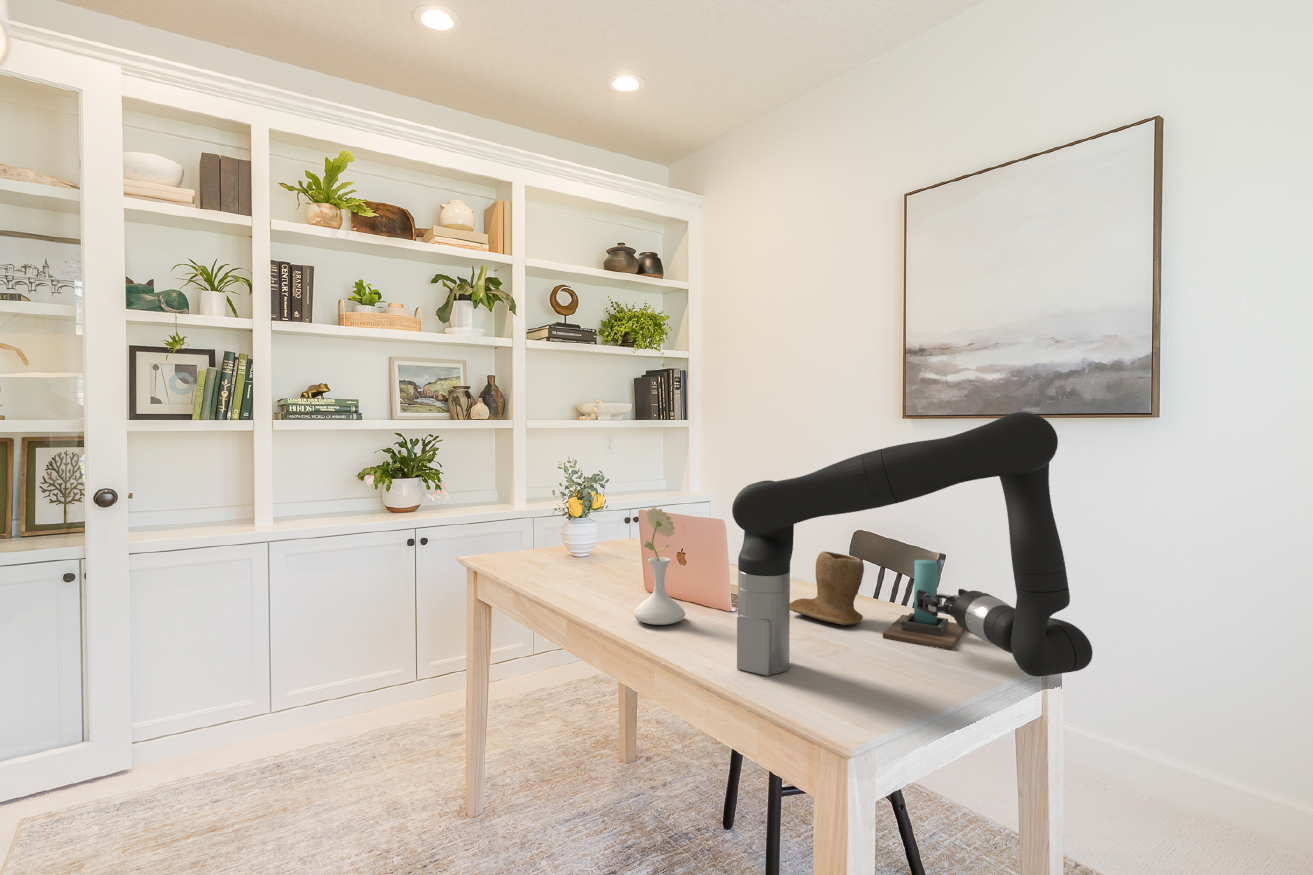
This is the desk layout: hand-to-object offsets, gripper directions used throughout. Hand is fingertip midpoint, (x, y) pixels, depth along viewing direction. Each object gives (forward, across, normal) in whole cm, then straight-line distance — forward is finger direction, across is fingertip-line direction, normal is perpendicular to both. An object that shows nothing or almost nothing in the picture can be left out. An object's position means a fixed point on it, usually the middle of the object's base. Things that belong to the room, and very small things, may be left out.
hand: (939, 594), depth 133 cm
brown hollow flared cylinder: (+18, +16, +10) cm, 26 cm away
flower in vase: (+20, +55, +10) cm, 59 cm away
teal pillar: (+6, 0, +9) cm, 10 cm away
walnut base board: (+6, 0, +10) cm, 11 cm away
